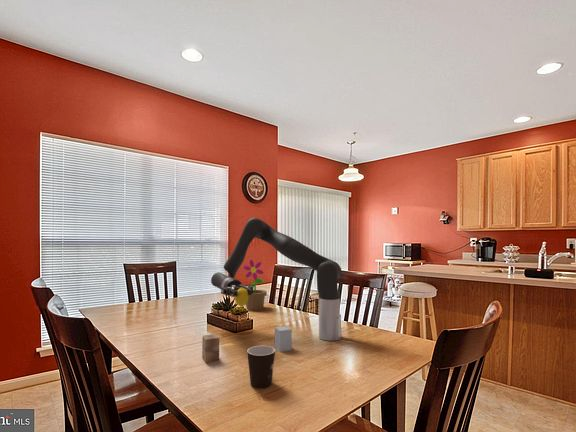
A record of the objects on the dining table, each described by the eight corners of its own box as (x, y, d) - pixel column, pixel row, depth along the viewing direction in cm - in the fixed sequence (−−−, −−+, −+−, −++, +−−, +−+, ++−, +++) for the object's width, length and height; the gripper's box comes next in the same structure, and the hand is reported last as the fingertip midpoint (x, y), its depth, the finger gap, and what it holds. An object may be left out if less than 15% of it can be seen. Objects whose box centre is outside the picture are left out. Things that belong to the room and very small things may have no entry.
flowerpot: (239, 311, 193) (240, 259, 194) (246, 305, 207) (247, 258, 209) (263, 312, 191) (263, 260, 192) (269, 306, 205) (269, 258, 206)
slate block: (286, 346, 134) (286, 326, 134) (291, 349, 129) (291, 329, 129) (274, 347, 131) (274, 327, 132) (280, 351, 127) (280, 330, 127)
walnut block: (215, 355, 123) (215, 333, 123) (219, 360, 119) (219, 337, 119) (202, 357, 121) (202, 335, 121) (205, 362, 116) (205, 339, 117)
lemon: (235, 305, 137) (235, 286, 137) (248, 305, 137) (248, 286, 137) (234, 308, 131) (234, 288, 131) (248, 308, 132) (248, 288, 132)
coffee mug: (264, 393, 94) (264, 357, 95) (241, 385, 99) (241, 351, 99) (285, 378, 104) (285, 345, 104) (263, 371, 108) (264, 341, 109)
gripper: (215, 279, 144) (226, 285, 129) (246, 277, 151) (260, 282, 135) (215, 296, 144) (226, 304, 129) (246, 293, 150) (260, 300, 135)
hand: (243, 293), depth 132 cm, fingers closed on lemon, 5 cm apart
